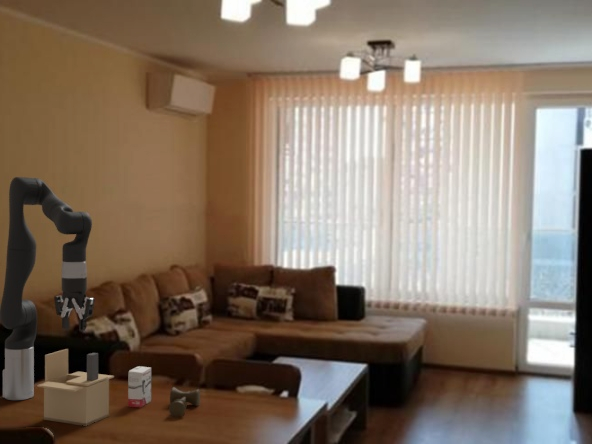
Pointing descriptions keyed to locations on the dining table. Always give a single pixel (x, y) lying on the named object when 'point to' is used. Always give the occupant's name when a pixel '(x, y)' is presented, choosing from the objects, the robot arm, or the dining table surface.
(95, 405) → the carton
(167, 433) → the dining table surface
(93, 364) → the flap
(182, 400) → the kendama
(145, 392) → the ink box
